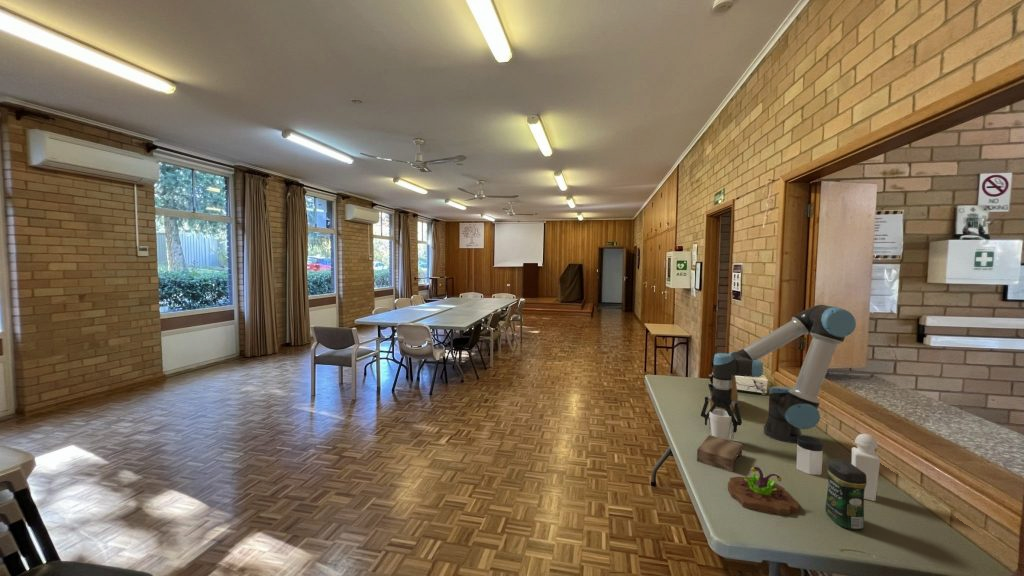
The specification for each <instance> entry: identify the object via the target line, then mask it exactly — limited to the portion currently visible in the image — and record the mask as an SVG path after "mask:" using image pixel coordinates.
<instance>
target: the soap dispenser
mask: <svg viewBox="0 0 1024 576" xmlns="http://www.w3.org/2000/svg"><path fill="white" fill-rule="evenodd" d="M854 443H855V445H856V447H855V446H854V447H852V448H851V464H852V465H854V466H855V467H857V468H858V469H860V470H861V471H862V472H864V473H865V474H866V481H867V482H866V483H867V484H866V487H865V490H864V500H867V501H872V502H876V500H877V499H876V498H877V492H878V491H877V489H878V481H879V473H880V464H881V458H880V457H879V456H878V454H877V452H876V451H875V450H876V449H877V448H879V445H878V442H877V440H876V439H875V437H873V435H871V434H868V433H860V434H858V435H857V436H856V438H855V439H854Z"/></svg>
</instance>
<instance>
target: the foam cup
mask: <svg viewBox="0 0 1024 576" xmlns="http://www.w3.org/2000/svg"><path fill="white" fill-rule="evenodd" d="M708 412H709V411H708ZM709 418H710V433H711V436H714V437H718V438H722V439H726V440H729V439H730V435H731V425H732V424H733V423H732V421H731V416H729V415H728V413H727V411H724V410H713V412H712V413H711V412H709Z"/></svg>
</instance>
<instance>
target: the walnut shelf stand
mask: <svg viewBox="0 0 1024 576" xmlns="http://www.w3.org/2000/svg"><path fill="white" fill-rule="evenodd" d="M696 452H697V454H696V462H699V463H701V464H705V465H708V466H711V465H712V466H711V467H714V466H715V468H718V469H721V468H722V469H721V470H724V469H725V471H727V470H728V471H727V472H731V471H733V472H734V462H735V460H736V458H737V457H742V456H743V443H740V442H737V441H733V440H731V439H730V440H729V439H728V440H726V439H722V438H718V437H714V436H712V434H711V435H710V434H709V435H708V436H707V437H706V438H705V440H704V441H703V442H702V443H701V444H700V446H698V448H697V451H696ZM737 455H739V456H737Z"/></svg>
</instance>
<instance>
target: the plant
mask: <svg viewBox="0 0 1024 576" xmlns="http://www.w3.org/2000/svg"><path fill="white" fill-rule="evenodd" d="M750 470H751V472H753V474H752V476H750V475H749V476H748V477H747V476H746V477H745V476H734V477H733V476H732V477H730V478H729V481H728V483H727V491H728V493H729V495H730V497H731V498H732V499H733V500H736V502H738V503H739V504H740V506H741V507H742V508H745V509H748V510H753V511H759V512H762V513H763V512H764V513H771V514H775V515H778V516H782V515H783V516H784V515H785V516H790V515H791V513H794V514H798V513H799V509H800V507H799V506H800V504H799V502H798V501H797V500H796V499H795V498H794V497H793V496H792V494H790V493H789V491H788V490H786V489H785V488H784V487H782V486H781V485H780V484H778V483H776V481H775V480H773V479H770V478H771V477H776V479H777V481H778V482H782V481H783V480H782V477H781V476H779V475H778V474H775V473H770V474H767V475H766V476H765V477H764V473H763V471H762V469H761V468H760V467H757V466H752V467H751V468H750ZM754 472H758V474H759V475H757V474H755V473H754ZM769 479H770V480H769Z"/></svg>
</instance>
